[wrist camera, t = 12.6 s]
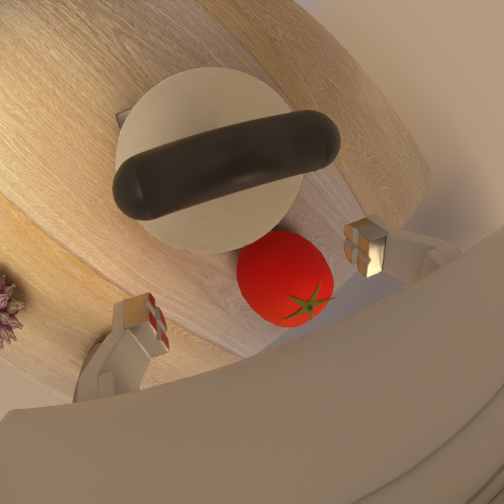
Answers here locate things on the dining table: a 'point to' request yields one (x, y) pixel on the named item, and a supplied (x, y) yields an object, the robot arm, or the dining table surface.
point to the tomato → (284, 278)
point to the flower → (8, 312)
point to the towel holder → (216, 159)
